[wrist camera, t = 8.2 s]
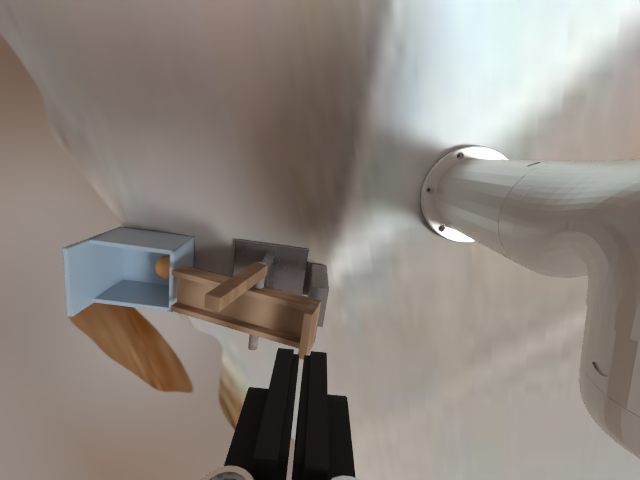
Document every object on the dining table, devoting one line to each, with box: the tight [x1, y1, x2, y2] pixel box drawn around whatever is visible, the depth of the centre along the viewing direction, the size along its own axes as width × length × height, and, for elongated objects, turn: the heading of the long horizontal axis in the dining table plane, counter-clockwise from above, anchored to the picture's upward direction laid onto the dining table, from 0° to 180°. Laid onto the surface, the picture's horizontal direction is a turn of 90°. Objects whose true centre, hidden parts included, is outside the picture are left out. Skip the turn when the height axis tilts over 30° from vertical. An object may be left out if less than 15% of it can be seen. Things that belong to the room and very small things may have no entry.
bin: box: [63, 227, 195, 317], centre depth 38 cm, size 10×8×10 cm
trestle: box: [233, 239, 329, 327], centre depth 40 cm, size 13×9×9 cm
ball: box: [155, 255, 170, 279], centre depth 41 cm, size 3×3×3 cm
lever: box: [171, 262, 321, 359], centre depth 31 cm, size 17×10×10 cm, turn 80°
